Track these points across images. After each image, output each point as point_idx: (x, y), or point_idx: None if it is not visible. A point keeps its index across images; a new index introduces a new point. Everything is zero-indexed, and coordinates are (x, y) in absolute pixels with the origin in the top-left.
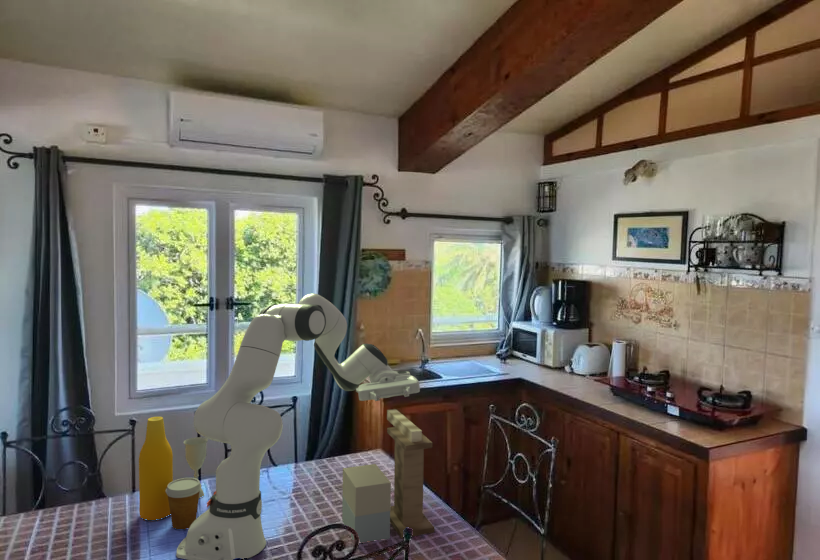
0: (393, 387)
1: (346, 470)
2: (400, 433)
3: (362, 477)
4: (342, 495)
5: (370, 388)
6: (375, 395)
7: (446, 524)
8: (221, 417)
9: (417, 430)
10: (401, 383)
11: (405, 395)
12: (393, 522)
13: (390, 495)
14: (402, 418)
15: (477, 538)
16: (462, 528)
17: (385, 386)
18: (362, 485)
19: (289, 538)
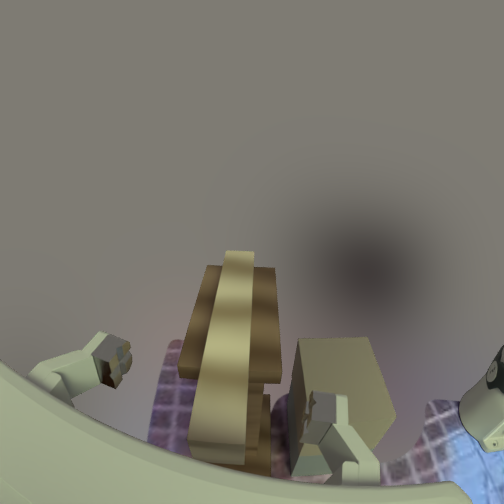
0: (136, 439)
1: (387, 404)
2: (256, 321)
3: (352, 368)
4: (373, 449)
5: (379, 500)
6: (342, 398)
7: (178, 407)
8: None
9: (235, 253)
10: (37, 420)
11: (127, 354)
12: (270, 426)
13: (295, 357)
14: (227, 325)
15: (164, 363)
16: (164, 389)
17: (209, 477)
18: (354, 340)
19: (434, 429)
